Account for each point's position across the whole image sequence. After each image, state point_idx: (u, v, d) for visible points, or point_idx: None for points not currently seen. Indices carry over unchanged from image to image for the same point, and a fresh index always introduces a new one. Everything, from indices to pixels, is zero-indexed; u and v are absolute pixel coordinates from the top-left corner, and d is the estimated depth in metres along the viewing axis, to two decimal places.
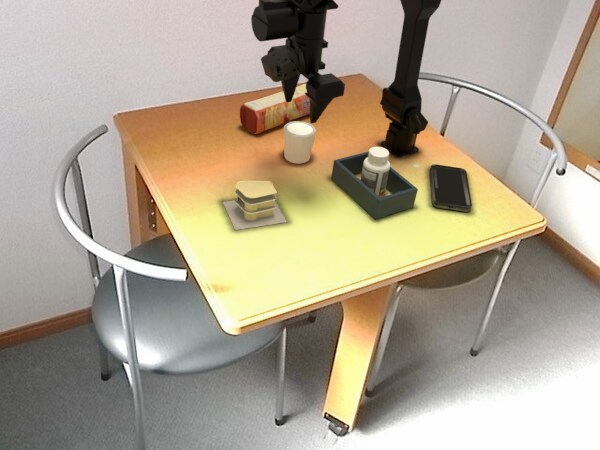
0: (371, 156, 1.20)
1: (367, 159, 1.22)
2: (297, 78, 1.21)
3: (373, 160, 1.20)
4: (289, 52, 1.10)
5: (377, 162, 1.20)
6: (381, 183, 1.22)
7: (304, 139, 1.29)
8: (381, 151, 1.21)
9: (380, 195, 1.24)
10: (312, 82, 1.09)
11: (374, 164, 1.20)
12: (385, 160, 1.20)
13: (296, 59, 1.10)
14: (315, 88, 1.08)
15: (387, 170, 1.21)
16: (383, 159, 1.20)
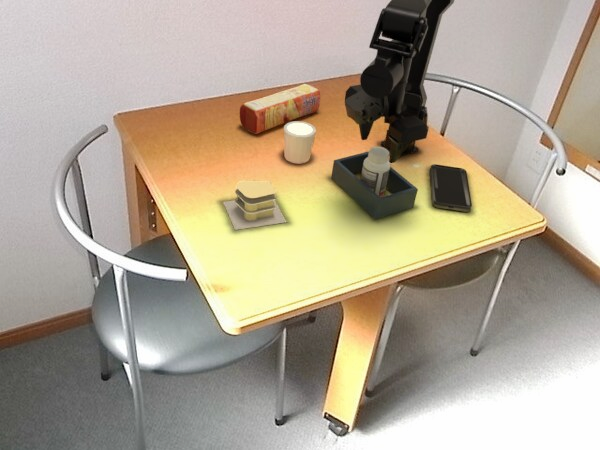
0: (371, 156, 1.20)
1: (367, 159, 1.22)
2: None
3: (373, 160, 1.20)
4: None
5: (377, 162, 1.20)
6: (381, 183, 1.22)
7: (304, 139, 1.29)
8: (381, 151, 1.21)
9: (380, 195, 1.24)
10: (397, 125, 1.09)
11: (374, 164, 1.20)
12: (385, 160, 1.20)
13: (380, 102, 1.10)
14: (401, 132, 1.08)
15: (387, 170, 1.21)
16: (383, 159, 1.20)
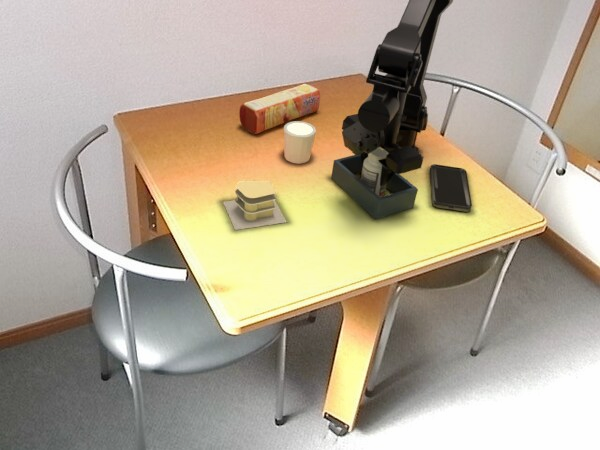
0: (371, 156, 1.20)
1: (367, 159, 1.22)
2: None
3: (373, 160, 1.20)
4: None
5: (377, 162, 1.20)
6: None
7: (304, 139, 1.29)
8: (382, 151, 1.21)
9: (380, 195, 1.24)
10: (393, 156, 1.13)
11: (374, 164, 1.20)
12: None
13: (377, 133, 1.14)
14: (396, 162, 1.12)
15: None
16: None
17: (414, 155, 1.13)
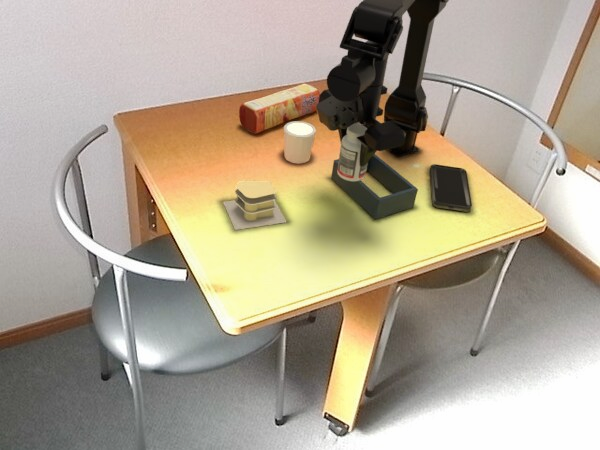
0: (349, 133, 1.09)
1: (345, 137, 1.11)
2: None
3: (352, 138, 1.09)
4: None
5: (356, 140, 1.09)
6: None
7: (304, 139, 1.29)
8: (361, 127, 1.10)
9: (360, 177, 1.14)
10: (372, 132, 1.02)
11: (353, 142, 1.10)
12: None
13: (354, 107, 1.03)
14: (376, 138, 1.01)
15: None
16: None
17: (395, 130, 1.03)
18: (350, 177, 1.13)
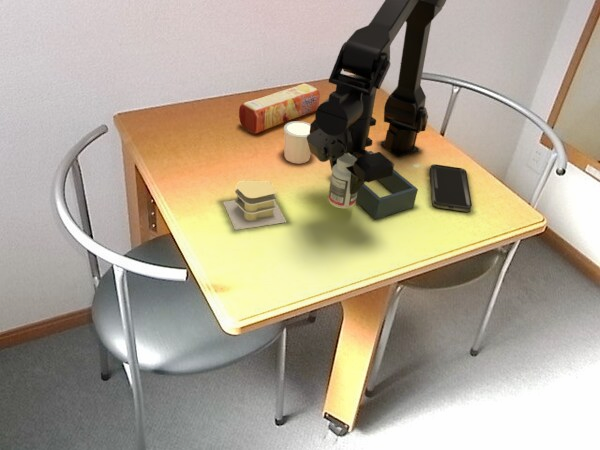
0: (339, 163, 1.12)
1: (336, 166, 1.14)
2: None
3: (342, 167, 1.12)
4: None
5: (346, 169, 1.12)
6: None
7: (304, 139, 1.29)
8: (351, 157, 1.13)
9: (350, 204, 1.16)
10: (361, 163, 1.05)
11: (343, 171, 1.12)
12: None
13: (344, 139, 1.06)
14: (364, 170, 1.04)
15: None
16: None
17: (384, 162, 1.05)
18: (341, 204, 1.16)
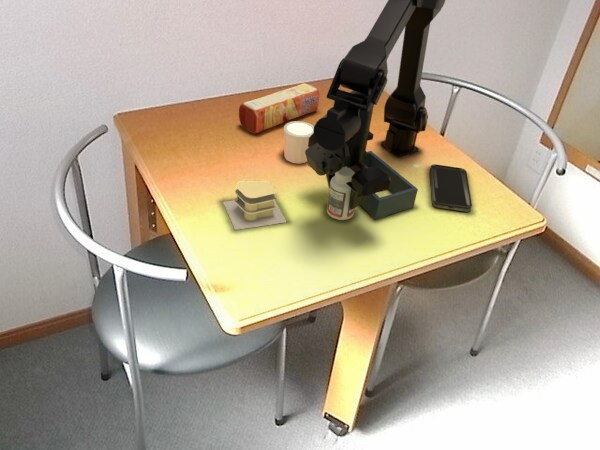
0: (338, 175, 1.13)
1: (334, 178, 1.16)
2: None
3: (340, 179, 1.13)
4: None
5: (344, 182, 1.14)
6: (349, 203, 1.16)
7: (304, 139, 1.29)
8: (349, 169, 1.14)
9: (348, 216, 1.18)
10: (358, 177, 1.06)
11: (341, 183, 1.14)
12: None
13: (341, 153, 1.07)
14: (362, 184, 1.05)
15: None
16: (350, 178, 1.13)
17: (381, 176, 1.07)
18: (339, 216, 1.17)
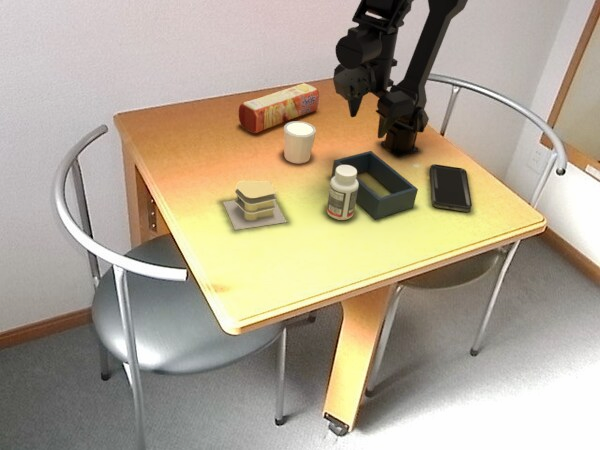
0: (338, 175, 1.13)
1: (334, 178, 1.16)
2: None
3: (340, 179, 1.13)
4: (360, 71, 1.14)
5: (344, 182, 1.14)
6: (349, 203, 1.16)
7: (304, 139, 1.29)
8: (349, 169, 1.14)
9: (348, 215, 1.18)
10: (384, 100, 1.12)
11: (341, 183, 1.14)
12: (352, 179, 1.14)
13: (368, 78, 1.13)
14: (388, 106, 1.12)
15: (355, 190, 1.15)
16: (350, 178, 1.13)
17: (405, 99, 1.13)
18: (339, 216, 1.17)
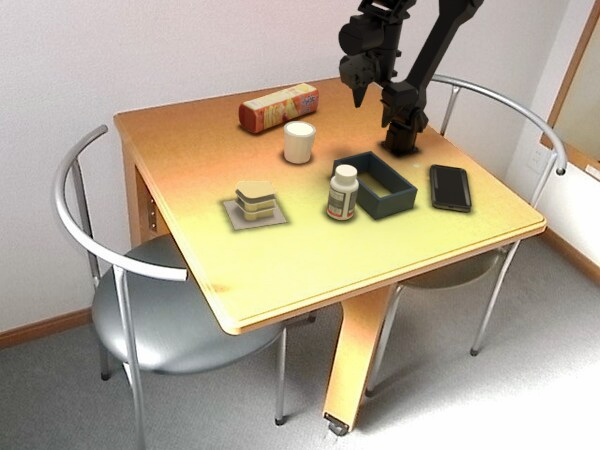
0: (338, 175, 1.13)
1: (334, 178, 1.16)
2: (366, 85, 1.28)
3: (340, 179, 1.13)
4: (365, 61, 1.17)
5: (344, 182, 1.14)
6: (349, 203, 1.16)
7: (304, 139, 1.29)
8: (349, 169, 1.14)
9: (348, 215, 1.18)
10: (388, 89, 1.15)
11: (341, 183, 1.14)
12: (352, 179, 1.14)
13: (372, 68, 1.16)
14: (392, 95, 1.14)
15: (355, 190, 1.15)
16: (350, 178, 1.13)
17: (409, 88, 1.15)
18: (339, 216, 1.17)
